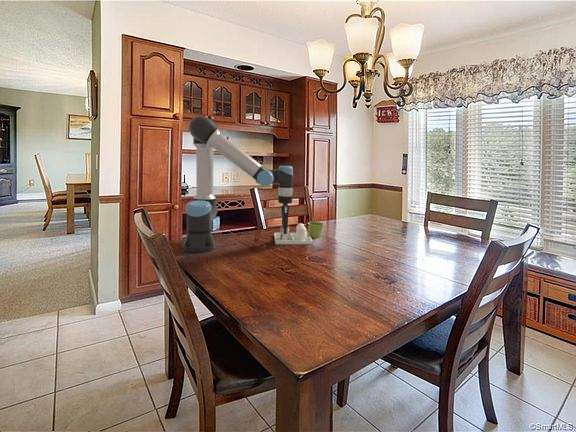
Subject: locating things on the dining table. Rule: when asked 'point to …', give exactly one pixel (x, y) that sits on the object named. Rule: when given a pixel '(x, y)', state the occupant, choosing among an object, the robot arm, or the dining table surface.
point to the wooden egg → (287, 235)
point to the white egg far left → (298, 228)
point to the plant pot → (315, 229)
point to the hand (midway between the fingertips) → (284, 238)
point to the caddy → (292, 239)
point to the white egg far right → (302, 234)
